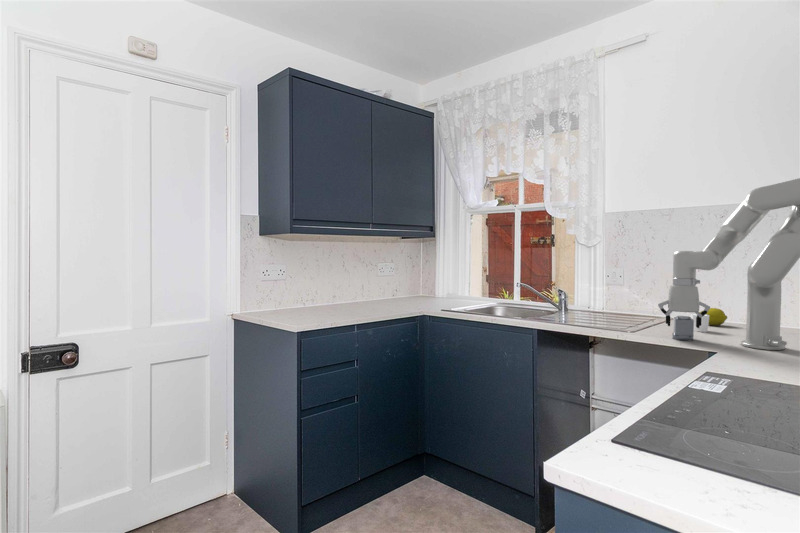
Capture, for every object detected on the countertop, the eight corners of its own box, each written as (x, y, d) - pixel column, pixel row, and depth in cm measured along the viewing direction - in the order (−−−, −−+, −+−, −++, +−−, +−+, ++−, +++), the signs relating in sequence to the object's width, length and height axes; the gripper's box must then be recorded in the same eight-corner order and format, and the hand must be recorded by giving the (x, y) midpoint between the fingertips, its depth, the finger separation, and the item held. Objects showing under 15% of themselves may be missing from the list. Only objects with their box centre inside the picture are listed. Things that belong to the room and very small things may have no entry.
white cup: (693, 331, 195) (693, 315, 194) (687, 329, 201) (687, 313, 201) (711, 332, 193) (712, 316, 193) (705, 329, 200) (705, 313, 199)
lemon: (727, 325, 211) (728, 308, 211) (726, 327, 205) (727, 309, 204) (699, 323, 217) (699, 306, 217) (697, 325, 211) (698, 308, 211)
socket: (693, 335, 175) (693, 318, 175) (675, 334, 178) (675, 317, 178) (691, 333, 181) (691, 316, 180) (673, 332, 183) (673, 315, 183)
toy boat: (694, 341, 175) (695, 328, 174) (673, 339, 178) (673, 327, 177) (687, 332, 192) (688, 321, 192) (668, 331, 195) (668, 319, 195)
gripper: (708, 282, 178) (707, 326, 179) (657, 281, 186) (656, 323, 186) (712, 284, 171) (711, 329, 172) (659, 282, 179) (658, 326, 179)
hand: (683, 326), depth 179 cm, fingers open, 9 cm apart
